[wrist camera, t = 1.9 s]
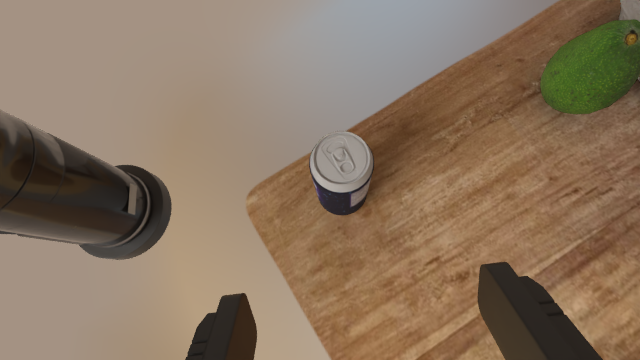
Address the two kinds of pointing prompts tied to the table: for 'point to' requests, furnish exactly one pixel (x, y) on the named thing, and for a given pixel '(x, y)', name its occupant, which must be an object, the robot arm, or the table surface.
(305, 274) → the table surface
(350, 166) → the beverage can
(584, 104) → the fruit
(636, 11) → the seahorse
